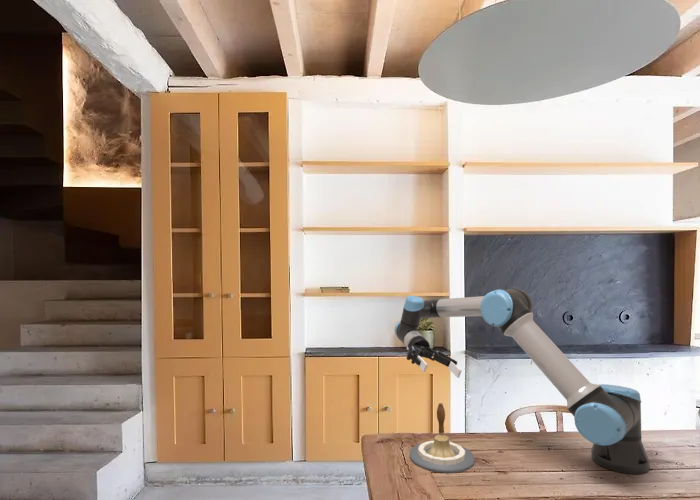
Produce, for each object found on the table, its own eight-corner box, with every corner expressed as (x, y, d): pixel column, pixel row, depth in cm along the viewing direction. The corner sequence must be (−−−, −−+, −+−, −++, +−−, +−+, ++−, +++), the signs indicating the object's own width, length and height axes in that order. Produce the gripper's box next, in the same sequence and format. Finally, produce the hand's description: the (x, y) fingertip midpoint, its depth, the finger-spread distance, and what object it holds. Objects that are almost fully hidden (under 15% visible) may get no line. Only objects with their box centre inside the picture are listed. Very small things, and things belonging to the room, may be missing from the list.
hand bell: (453, 462, 132) (452, 409, 132) (426, 458, 134) (425, 406, 135) (456, 450, 139) (455, 400, 140) (430, 447, 142) (430, 398, 143)
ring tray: (476, 449, 143) (476, 441, 143) (472, 477, 124) (472, 468, 124) (416, 441, 150) (416, 433, 150) (403, 467, 131) (403, 458, 131)
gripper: (441, 358, 172) (469, 385, 152) (385, 347, 164) (407, 375, 144) (447, 340, 171) (476, 366, 151) (391, 329, 163) (414, 355, 143)
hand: (442, 371), depth 148 cm, fingers open, 13 cm apart
